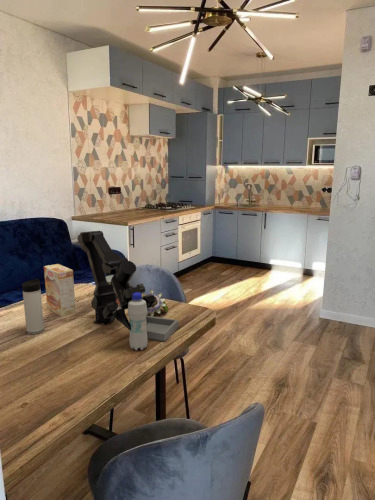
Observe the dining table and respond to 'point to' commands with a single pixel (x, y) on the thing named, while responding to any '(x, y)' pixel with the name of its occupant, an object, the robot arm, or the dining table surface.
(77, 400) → the dining table surface
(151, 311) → the passion flower
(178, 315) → the dining table surface
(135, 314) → the bottle
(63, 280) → the coffeecake box
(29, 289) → the travel mug
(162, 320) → the open box
